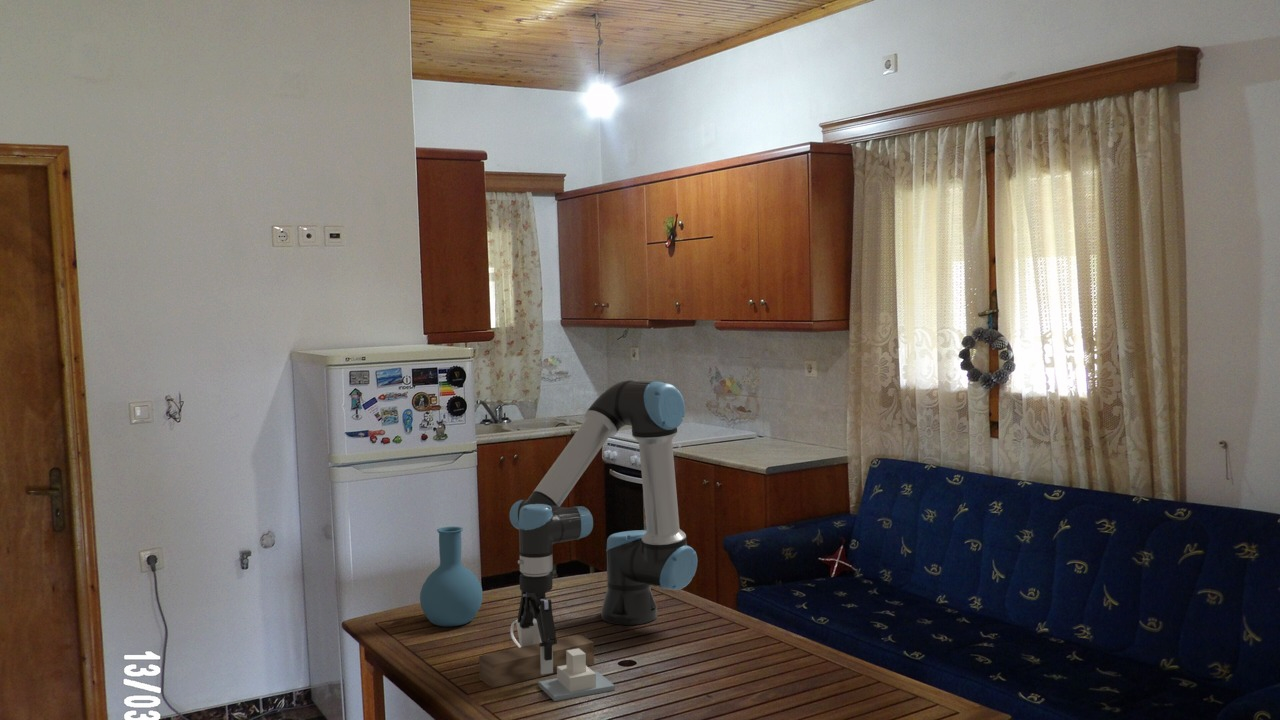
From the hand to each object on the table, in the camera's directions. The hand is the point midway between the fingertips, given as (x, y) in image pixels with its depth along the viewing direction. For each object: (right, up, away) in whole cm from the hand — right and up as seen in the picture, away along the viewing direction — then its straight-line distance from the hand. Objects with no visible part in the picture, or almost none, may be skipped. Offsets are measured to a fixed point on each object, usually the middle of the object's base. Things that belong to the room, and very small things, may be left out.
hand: (536, 664), depth 233 cm
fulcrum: (+10, -2, -11) cm, 15 cm away
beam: (0, -2, 0) cm, 2 cm away
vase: (-27, 0, +39) cm, 48 cm away
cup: (-4, -1, +14) cm, 15 cm away
